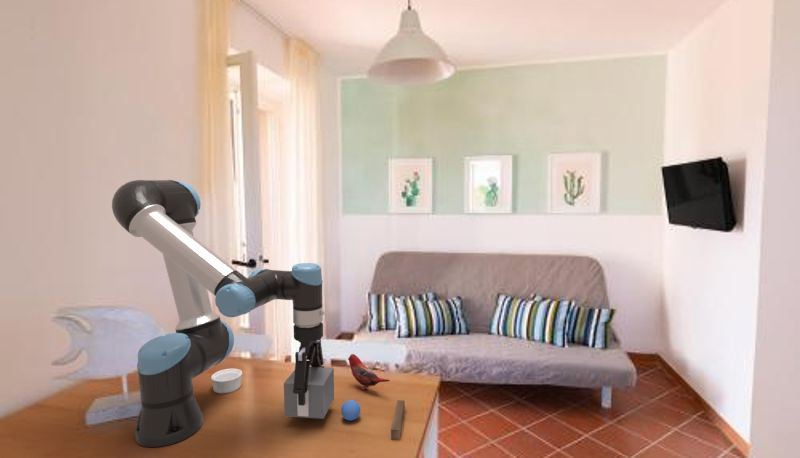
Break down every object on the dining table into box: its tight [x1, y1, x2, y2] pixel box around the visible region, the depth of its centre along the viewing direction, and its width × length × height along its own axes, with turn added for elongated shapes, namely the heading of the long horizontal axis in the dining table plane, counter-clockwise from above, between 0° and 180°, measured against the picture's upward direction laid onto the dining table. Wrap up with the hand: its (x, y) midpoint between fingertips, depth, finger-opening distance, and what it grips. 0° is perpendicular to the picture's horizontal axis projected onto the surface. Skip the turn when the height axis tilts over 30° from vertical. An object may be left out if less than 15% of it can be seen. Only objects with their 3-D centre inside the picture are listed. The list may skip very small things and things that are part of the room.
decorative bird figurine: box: [347, 353, 391, 392], centre depth 125 cm, size 3×18×10 cm, turn 49°
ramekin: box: [210, 368, 243, 394], centre depth 130 cm, size 9×9×4 cm
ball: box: [340, 399, 361, 422], centre depth 110 cm, size 5×5×5 cm
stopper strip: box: [390, 399, 406, 441], centre depth 108 cm, size 2×14×2 cm, turn 174°
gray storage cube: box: [283, 366, 335, 420], centre depth 111 cm, size 10×10×9 cm
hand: (310, 404), depth 111 cm, fingers closed on gray storage cube, 10 cm apart
